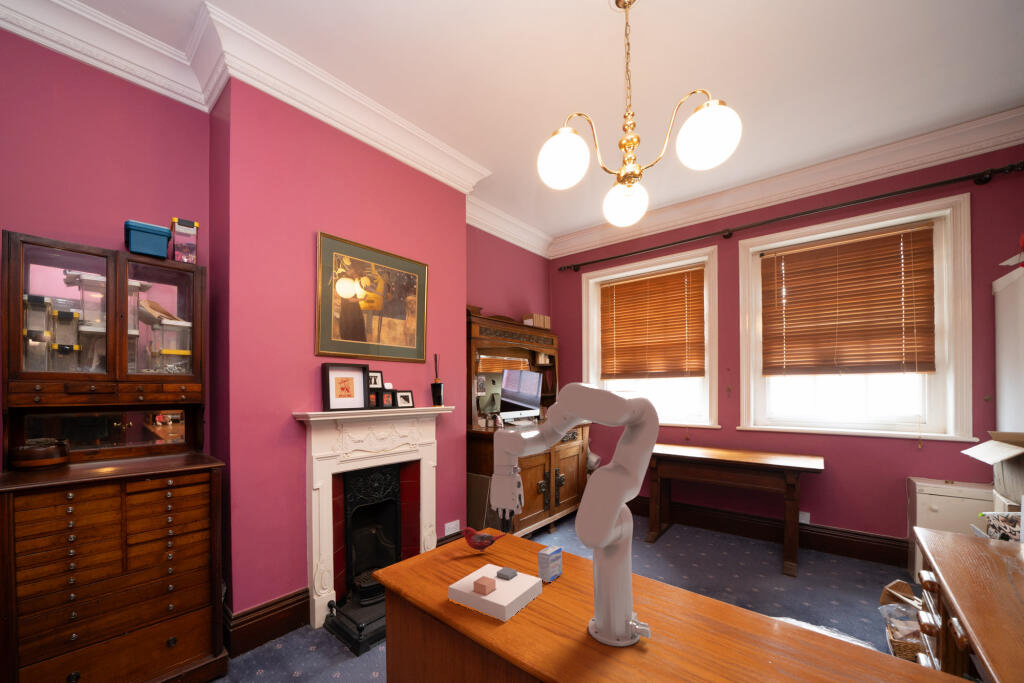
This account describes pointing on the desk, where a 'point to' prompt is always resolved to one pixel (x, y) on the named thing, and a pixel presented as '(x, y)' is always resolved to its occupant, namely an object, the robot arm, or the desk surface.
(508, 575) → the grey key
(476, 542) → the decorative bird figurine
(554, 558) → the medicine box
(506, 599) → the key console
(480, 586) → the terracotta key
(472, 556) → the desk surface
